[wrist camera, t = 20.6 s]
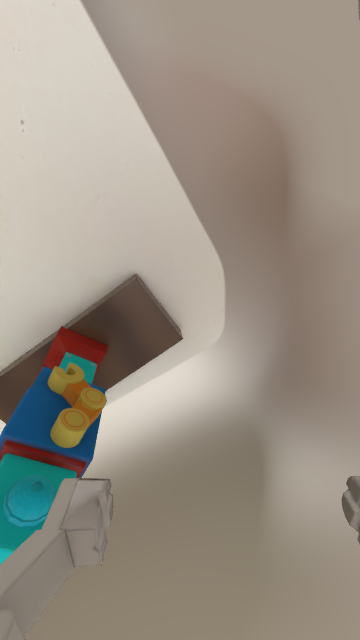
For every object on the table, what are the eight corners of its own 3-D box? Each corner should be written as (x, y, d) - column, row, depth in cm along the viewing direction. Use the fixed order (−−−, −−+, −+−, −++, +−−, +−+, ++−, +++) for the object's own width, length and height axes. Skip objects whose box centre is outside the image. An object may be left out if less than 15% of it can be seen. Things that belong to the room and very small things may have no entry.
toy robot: (67, 313, 30) (-157, 654, 8) (119, 335, 32) (66, 667, 9) (30, 393, 34) (-207, 803, 11) (79, 410, 35) (-34, 791, 13)
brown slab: (136, 273, 32) (136, 278, 30) (180, 330, 36) (183, 339, 33) (-18, 385, 35) (-30, 397, 33) (36, 427, 39) (30, 441, 36)
